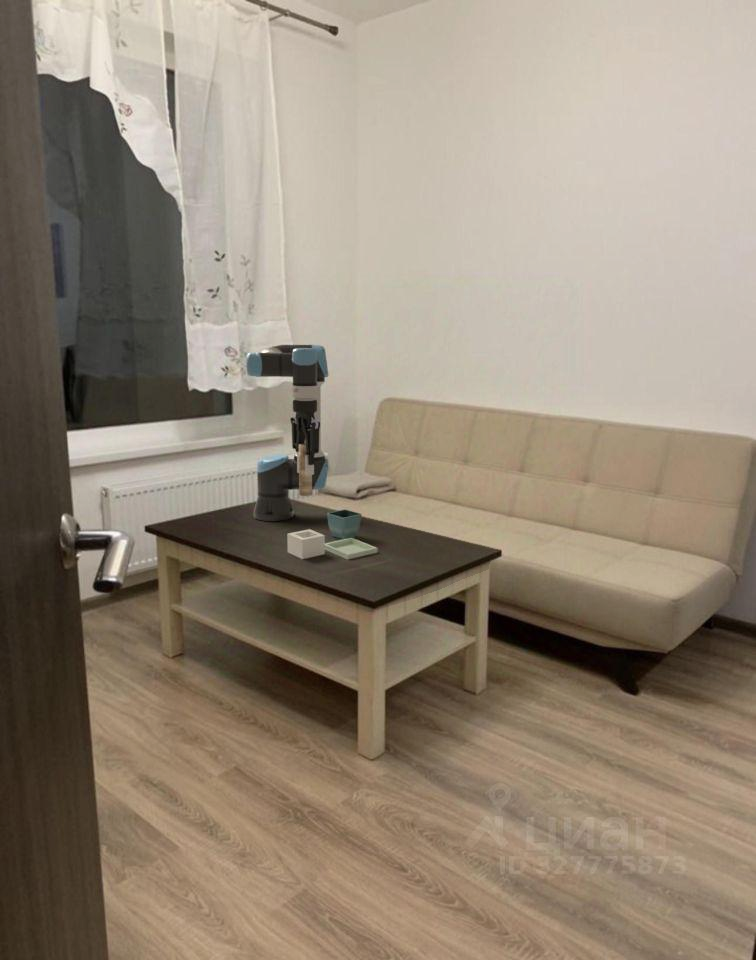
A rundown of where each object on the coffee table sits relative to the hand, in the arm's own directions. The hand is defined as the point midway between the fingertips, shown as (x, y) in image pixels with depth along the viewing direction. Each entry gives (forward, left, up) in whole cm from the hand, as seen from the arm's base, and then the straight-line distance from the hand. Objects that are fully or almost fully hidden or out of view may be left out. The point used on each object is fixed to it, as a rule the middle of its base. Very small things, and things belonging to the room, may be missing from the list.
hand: (305, 473), depth 237 cm
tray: (+6, +13, -27) cm, 31 cm away
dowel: (0, 0, -7) cm, 7 cm away
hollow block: (0, 0, -27) cm, 27 cm away
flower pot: (-8, +21, -27) cm, 35 cm away
